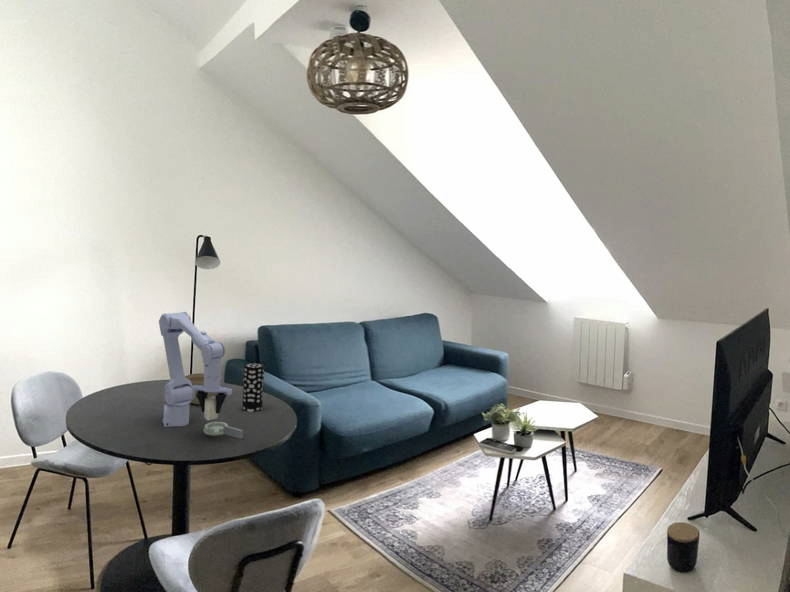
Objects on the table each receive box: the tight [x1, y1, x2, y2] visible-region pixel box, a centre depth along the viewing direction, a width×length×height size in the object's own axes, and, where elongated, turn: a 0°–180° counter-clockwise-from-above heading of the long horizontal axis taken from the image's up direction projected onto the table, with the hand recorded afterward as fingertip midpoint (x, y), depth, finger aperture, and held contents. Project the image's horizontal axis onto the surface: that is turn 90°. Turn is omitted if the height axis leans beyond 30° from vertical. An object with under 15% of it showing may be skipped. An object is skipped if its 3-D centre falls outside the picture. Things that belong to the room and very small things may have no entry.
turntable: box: [203, 421, 244, 440], centre depth 214 cm, size 14×14×3 cm
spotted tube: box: [241, 362, 265, 413], centre depth 243 cm, size 8×8×20 cm
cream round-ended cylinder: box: [203, 396, 219, 421], centre depth 208 cm, size 8×5×7 cm, turn 4°
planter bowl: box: [185, 372, 223, 405], centre depth 252 cm, size 16×16×11 cm
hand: (211, 412), depth 209 cm, fingers closed on cream round-ended cylinder, 5 cm apart
